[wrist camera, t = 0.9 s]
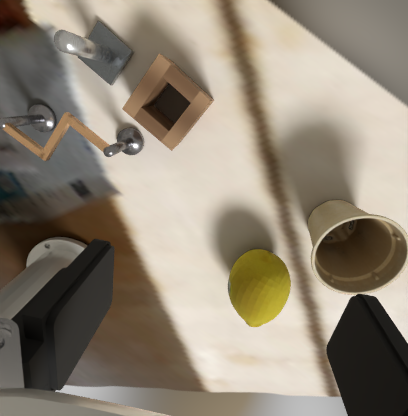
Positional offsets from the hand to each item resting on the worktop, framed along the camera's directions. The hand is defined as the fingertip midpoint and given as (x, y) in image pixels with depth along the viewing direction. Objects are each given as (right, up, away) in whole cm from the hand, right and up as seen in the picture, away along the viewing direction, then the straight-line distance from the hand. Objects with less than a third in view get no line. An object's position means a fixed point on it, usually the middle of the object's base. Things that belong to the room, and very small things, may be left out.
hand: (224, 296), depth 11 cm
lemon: (+7, -5, +29) cm, 30 cm away
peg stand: (-12, +21, +20) cm, 31 cm away
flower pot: (+16, +2, +25) cm, 30 cm away
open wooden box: (-4, +16, +21) cm, 27 cm away
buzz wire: (-15, +14, +23) cm, 31 cm away
